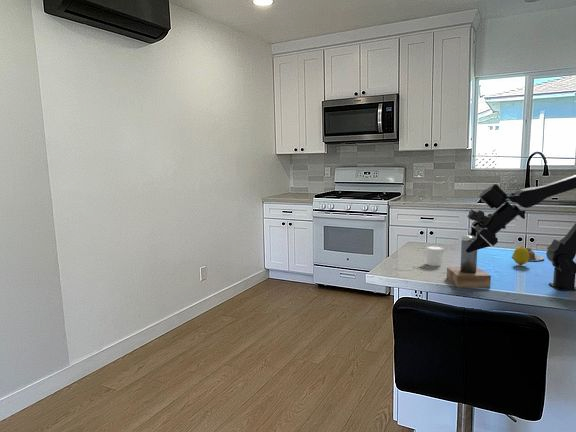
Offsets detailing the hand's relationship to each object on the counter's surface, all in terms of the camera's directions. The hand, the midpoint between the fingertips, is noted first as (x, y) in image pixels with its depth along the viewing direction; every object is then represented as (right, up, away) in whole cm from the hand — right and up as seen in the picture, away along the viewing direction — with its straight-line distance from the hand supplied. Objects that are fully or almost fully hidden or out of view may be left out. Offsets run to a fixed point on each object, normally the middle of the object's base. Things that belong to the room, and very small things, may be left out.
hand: (464, 248), depth 147 cm
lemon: (+31, -9, +21) cm, 39 cm away
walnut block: (+2, -12, +1) cm, 12 cm away
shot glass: (-2, -9, +26) cm, 28 cm away
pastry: (+41, -7, +33) cm, 53 cm away
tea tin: (+2, -8, +1) cm, 8 cm away
